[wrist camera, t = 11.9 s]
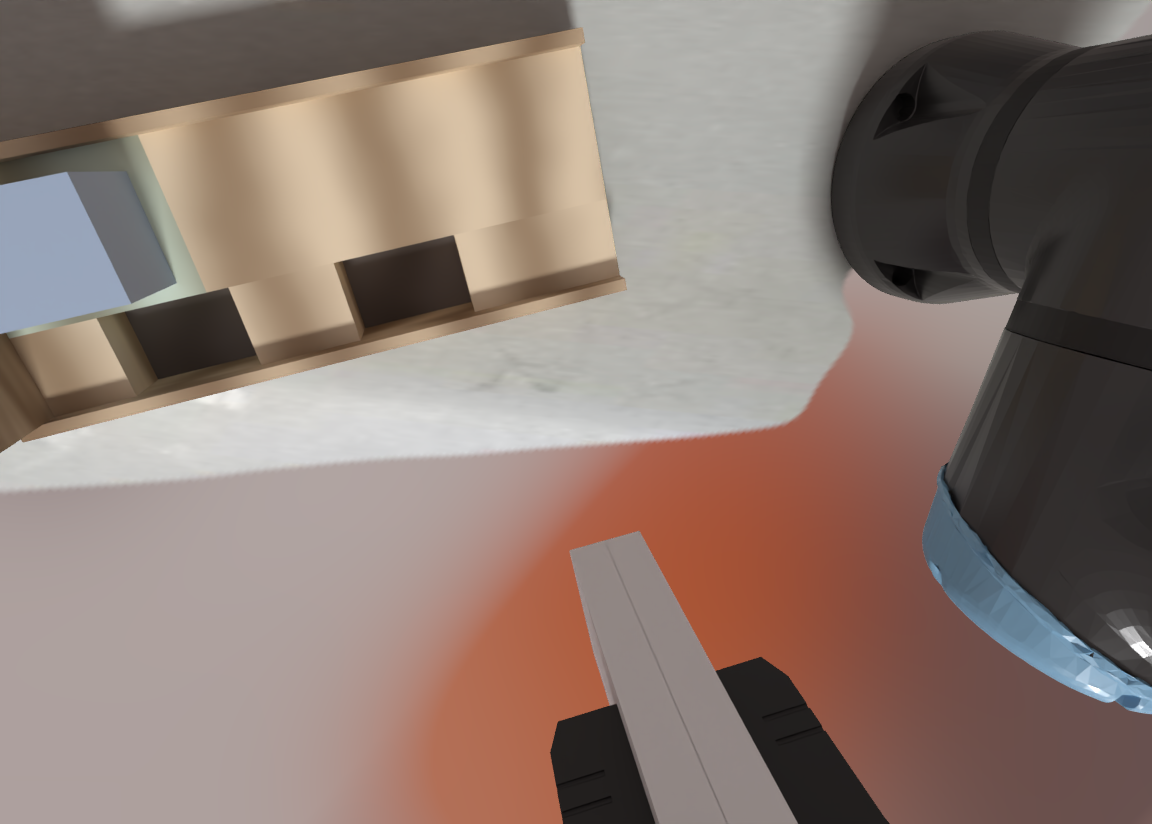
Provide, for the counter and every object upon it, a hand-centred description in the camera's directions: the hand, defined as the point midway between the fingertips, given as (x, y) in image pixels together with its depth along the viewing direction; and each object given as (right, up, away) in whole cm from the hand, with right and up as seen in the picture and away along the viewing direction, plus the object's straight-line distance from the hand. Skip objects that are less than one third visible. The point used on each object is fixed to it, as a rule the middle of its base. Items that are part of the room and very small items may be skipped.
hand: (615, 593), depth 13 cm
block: (-22, +11, +15) cm, 29 cm away
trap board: (-15, +13, +19) cm, 28 cm away
